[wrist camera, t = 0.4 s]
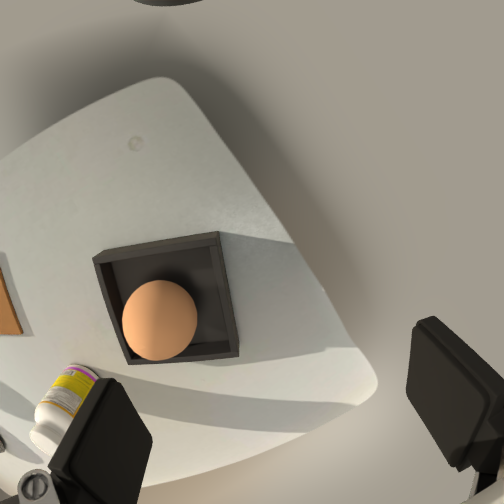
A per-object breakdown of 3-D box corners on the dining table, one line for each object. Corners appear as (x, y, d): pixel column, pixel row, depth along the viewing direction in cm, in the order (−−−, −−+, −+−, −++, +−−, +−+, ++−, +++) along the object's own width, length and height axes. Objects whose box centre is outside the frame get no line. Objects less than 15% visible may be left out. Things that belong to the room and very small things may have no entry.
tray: (103, 250, 28) (91, 257, 26) (218, 230, 28) (216, 237, 26) (135, 351, 32) (127, 365, 29) (239, 342, 32) (239, 357, 29)
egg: (190, 337, 31) (175, 391, 22) (132, 313, 30) (101, 360, 21) (212, 284, 29) (200, 329, 21) (149, 258, 29) (115, 293, 20)
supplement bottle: (101, 406, 34) (69, 471, 22) (62, 383, 33) (23, 442, 21) (111, 379, 33) (74, 450, 21) (69, 353, 32) (21, 416, 20)
